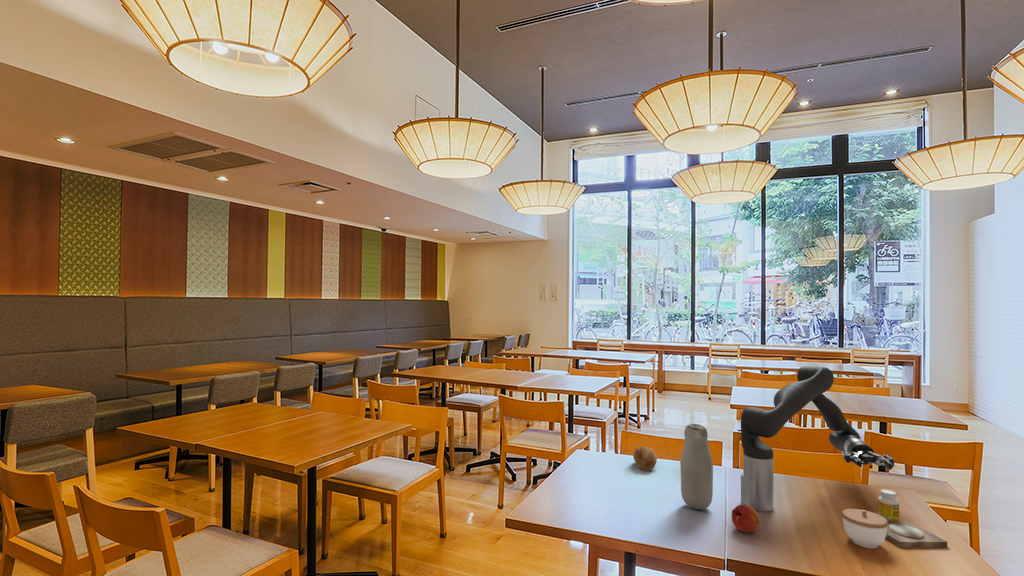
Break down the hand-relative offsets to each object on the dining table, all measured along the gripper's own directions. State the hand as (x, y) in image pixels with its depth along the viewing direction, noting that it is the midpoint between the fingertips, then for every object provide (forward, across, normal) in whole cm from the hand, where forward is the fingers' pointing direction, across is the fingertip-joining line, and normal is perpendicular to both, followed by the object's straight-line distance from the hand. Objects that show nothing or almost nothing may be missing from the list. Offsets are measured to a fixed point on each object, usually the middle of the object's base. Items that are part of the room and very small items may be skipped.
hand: (875, 465), depth 165 cm
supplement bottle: (+11, 0, +14) cm, 18 cm away
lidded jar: (+30, -13, +14) cm, 36 cm away
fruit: (+35, -45, +13) cm, 58 cm away
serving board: (+21, 0, +14) cm, 25 cm away
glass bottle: (+22, -58, +13) cm, 64 cm away
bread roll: (-15, -78, +14) cm, 80 cm away
